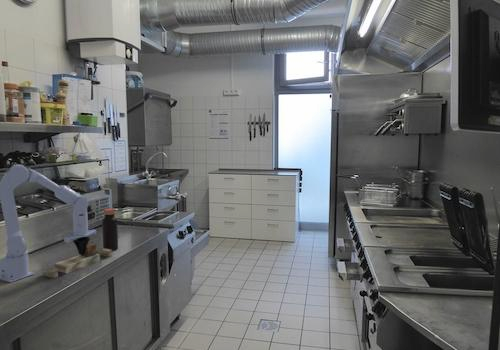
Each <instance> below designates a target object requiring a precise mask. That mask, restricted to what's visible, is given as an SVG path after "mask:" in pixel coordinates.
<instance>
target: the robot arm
mask: <svg viewBox="0 0 500 350" xmlns="http://www.w3.org/2000/svg"><path fill="white" fill-rule="evenodd" d="M26 181H28V183H29V182H30V183H37V184H39V185H41V186H43V187H45V188H47V189H48V190H50V191H51V192H54V197H56V198H57V199H59V201H62V202H64V203H65V204H68V205H71V207H72V226H73V227H72V229H73V233H72V234H70V235H68V236H65V237H64V239H63V241H64V243H70V242H73V244H74V245H75V247H76V249H77V252H78V254H79V255H84V254H85V249H86V246H87V244H88V243H90V242H89V241H90V240H91V238H90V237H89V236H96V235H97V229H89V220H88V219H89V217H88V215H89V213H88V207H89V206H90V205H89V204H90V203H89V201H88V199H87V198H86V197H85V196H83V195H82V194H81V193H80V192H76V191H75V190H73V189H71V186H69V185H65V184H63V185H59V184H57V183H55V182H54V181H53V180H51V179H49V178H48V177H46V176H45V175H43V174H41V173H40V172H38V171H36V170H34V169H32V168H30V167H26V166H25V165H23V164H19V163H16V164H14V165H11V166H10V167H9V168H8V169H7V170H6V171H5V173H4V175H3V177H2V178H1V180H0V204H1V210H2V214H3V215H2V216H3V218H4V219H3V220H4V224H5V230H6V235H7V240H6V249H7V252H6V253H5V256H4V257H2V258H0V281H5V282H7V283H13V282H15V281H19V280H21V279H24V278H28V277H29V276H33V275H35V272H32V271H30V268H29V266H30V265H29V264H30V263H29V251H28V250H27V249H28V245H27V243H26V239H25V237H24V236H23V235H22V231H21V226H20V221H19V215H18V211H17V205H16V200H15V196H14V190H15V189H16V188H17V187H18V186H19V185H21V184H23V183H24V182H26Z"/></svg>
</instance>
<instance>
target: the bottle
mask: <svg viewBox="0 0 500 350" xmlns="http://www.w3.org/2000/svg"><path fill="white" fill-rule="evenodd" d="M115 214H116V209H115V208H105V209H103V215H104V217H103V219H102V221H101V223H102V246H103V247H102V248H105V249H110V250H112V252H114V251H117V250H118V248H119V237H118V235H119V234H118V233H119V232H118V218H117V217H116V216H115Z"/></svg>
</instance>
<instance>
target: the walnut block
mask: <svg viewBox="0 0 500 350" xmlns="http://www.w3.org/2000/svg"><path fill="white" fill-rule="evenodd" d="M96 254H98V248H97V244H96V243H90V242H88V244H87V246H86V249H85V254H84V255H81V256H85V257H90V256H93V255H96Z"/></svg>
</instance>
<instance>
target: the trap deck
mask: <svg viewBox="0 0 500 350" xmlns="http://www.w3.org/2000/svg"><path fill="white" fill-rule="evenodd" d="M112 257H113V251H112V250H110V249H105V248H103V247H100V248H97V254H96V255H93V256H90V257H85V256H81V255H80V254H79V255H76V256H73V257H70V258H66V259H65V260H62V261H58V262H55V263H53V264H54V265H53V267H54V268H53V267H49V266H44V267H42V276H45V277H49V278H53V279H55V278H59V277H62V276H64V275H67V274H70V273H72V272H75V271H77V270H79V269H83V268H85V267H87V266H91V265H93V264H96V263H99V262H101V261H103V260H106V259H108V258H112Z"/></svg>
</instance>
